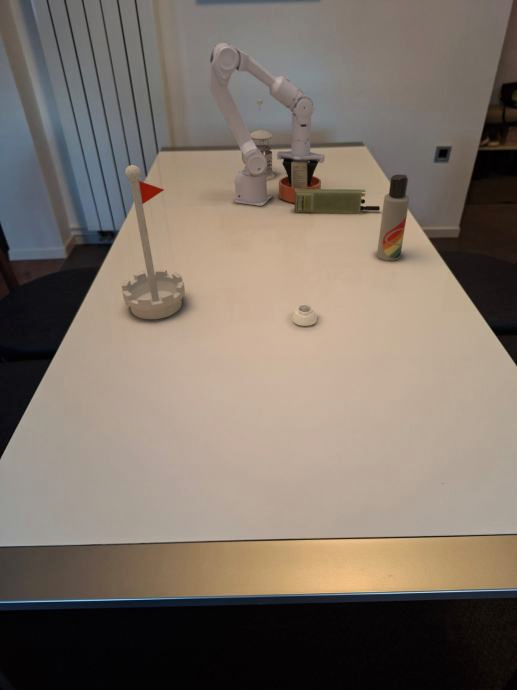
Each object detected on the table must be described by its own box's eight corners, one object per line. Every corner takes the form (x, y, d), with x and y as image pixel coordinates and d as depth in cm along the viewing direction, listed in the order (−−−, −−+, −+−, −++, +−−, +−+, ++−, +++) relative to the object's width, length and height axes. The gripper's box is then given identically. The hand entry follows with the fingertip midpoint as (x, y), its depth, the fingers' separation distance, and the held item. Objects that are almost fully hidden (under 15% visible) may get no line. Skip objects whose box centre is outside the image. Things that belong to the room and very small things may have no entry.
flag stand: (128, 326, 102) (95, 180, 84) (124, 295, 112) (94, 159, 94) (190, 315, 104) (172, 172, 86) (181, 286, 114) (163, 152, 96)
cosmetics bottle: (308, 190, 159) (309, 158, 153) (307, 195, 156) (308, 163, 150) (292, 190, 160) (293, 158, 154) (290, 194, 157) (291, 162, 151)
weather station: (244, 179, 174) (240, 101, 159) (253, 169, 183) (251, 94, 168) (270, 181, 172) (270, 102, 157) (279, 171, 181) (279, 95, 166)
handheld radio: (295, 209, 151) (378, 210, 148) (294, 213, 148) (379, 214, 146) (295, 187, 146) (381, 188, 144) (294, 192, 144) (382, 192, 141)
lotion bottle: (400, 262, 121) (413, 180, 109) (376, 260, 122) (387, 179, 110) (399, 251, 126) (412, 172, 114) (377, 250, 127) (386, 171, 115)
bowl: (272, 201, 156) (272, 185, 153) (287, 187, 166) (287, 172, 163) (312, 206, 152) (313, 190, 149) (325, 192, 162) (326, 177, 159)
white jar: (310, 311, 104) (288, 317, 103) (310, 299, 102) (288, 304, 101) (320, 324, 100) (298, 329, 99) (321, 312, 99) (298, 317, 97)
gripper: (273, 140, 147) (274, 185, 156) (321, 143, 143) (319, 190, 151) (281, 134, 153) (281, 178, 161) (327, 137, 149) (324, 182, 157)
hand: (299, 183), depth 156 cm, fingers closed on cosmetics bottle, 5 cm apart
